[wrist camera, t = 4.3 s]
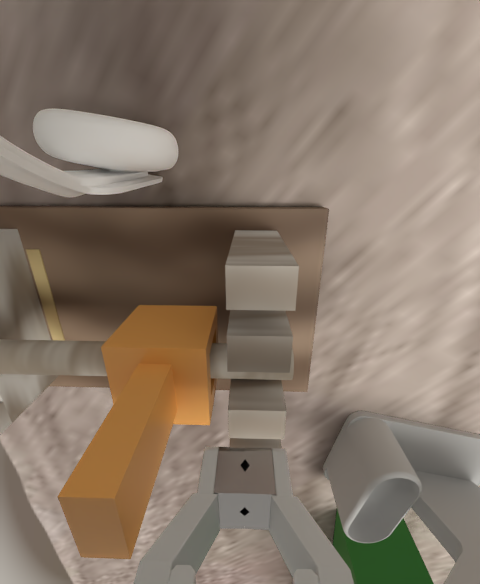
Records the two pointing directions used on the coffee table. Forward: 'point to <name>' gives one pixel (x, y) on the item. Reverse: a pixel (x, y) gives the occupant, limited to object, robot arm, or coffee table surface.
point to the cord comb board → (161, 297)
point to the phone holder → (409, 484)
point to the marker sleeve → (140, 422)
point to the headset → (90, 154)
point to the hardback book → (382, 558)
